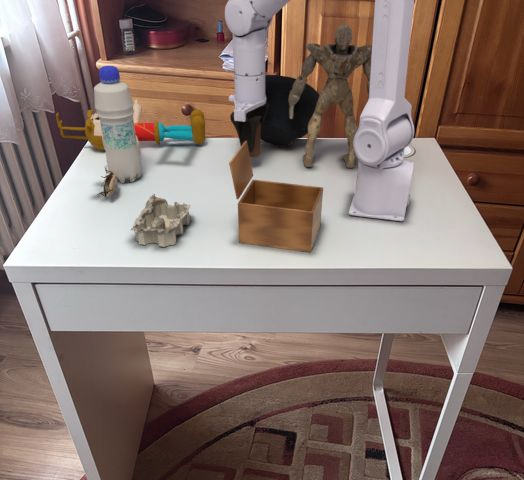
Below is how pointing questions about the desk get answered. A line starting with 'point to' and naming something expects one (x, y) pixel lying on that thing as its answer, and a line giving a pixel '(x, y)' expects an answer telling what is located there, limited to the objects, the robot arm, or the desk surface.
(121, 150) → the bottle
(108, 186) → the insect
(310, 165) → the figurine
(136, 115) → the toy
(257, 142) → the brown cylinder
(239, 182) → the flap
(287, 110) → the bowl
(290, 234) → the brown box
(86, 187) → the desk surface
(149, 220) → the egg carton
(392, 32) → the robot arm
